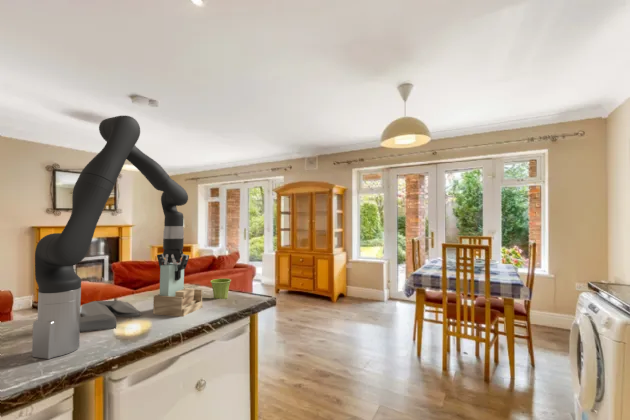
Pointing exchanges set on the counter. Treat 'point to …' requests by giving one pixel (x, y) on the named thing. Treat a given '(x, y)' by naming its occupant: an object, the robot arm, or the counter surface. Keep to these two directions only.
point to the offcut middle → (188, 300)
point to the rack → (175, 305)
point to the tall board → (170, 280)
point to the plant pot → (220, 288)
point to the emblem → (104, 314)
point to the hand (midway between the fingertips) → (172, 279)
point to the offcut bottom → (189, 304)
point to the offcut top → (184, 293)
